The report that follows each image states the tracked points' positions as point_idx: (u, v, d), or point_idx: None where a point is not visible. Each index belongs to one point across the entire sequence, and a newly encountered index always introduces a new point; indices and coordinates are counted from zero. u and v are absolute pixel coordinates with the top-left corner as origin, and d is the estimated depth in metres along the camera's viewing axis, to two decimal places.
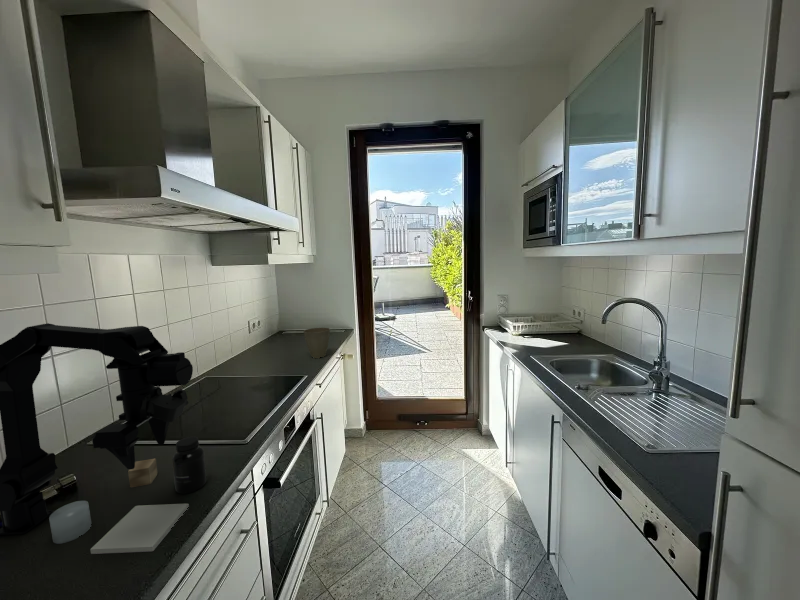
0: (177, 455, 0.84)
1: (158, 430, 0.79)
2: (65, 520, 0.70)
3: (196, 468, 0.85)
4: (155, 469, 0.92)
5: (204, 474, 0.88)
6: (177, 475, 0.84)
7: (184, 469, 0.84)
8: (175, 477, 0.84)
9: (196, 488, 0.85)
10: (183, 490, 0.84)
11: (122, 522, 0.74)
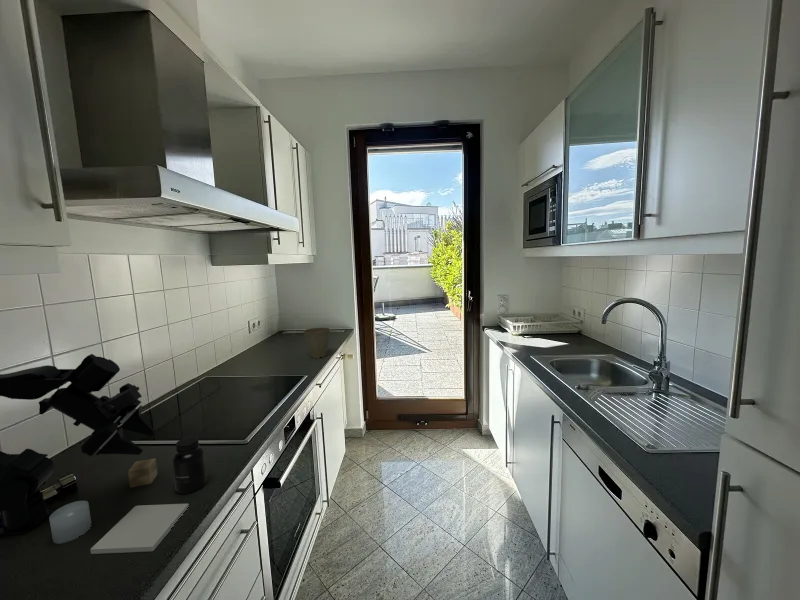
0: (177, 455, 0.84)
1: (140, 427, 0.86)
2: (65, 520, 0.70)
3: (196, 468, 0.85)
4: (155, 469, 0.92)
5: (204, 474, 0.88)
6: (177, 475, 0.84)
7: (184, 469, 0.84)
8: (175, 477, 0.84)
9: (196, 488, 0.85)
10: (183, 490, 0.84)
11: (122, 522, 0.74)
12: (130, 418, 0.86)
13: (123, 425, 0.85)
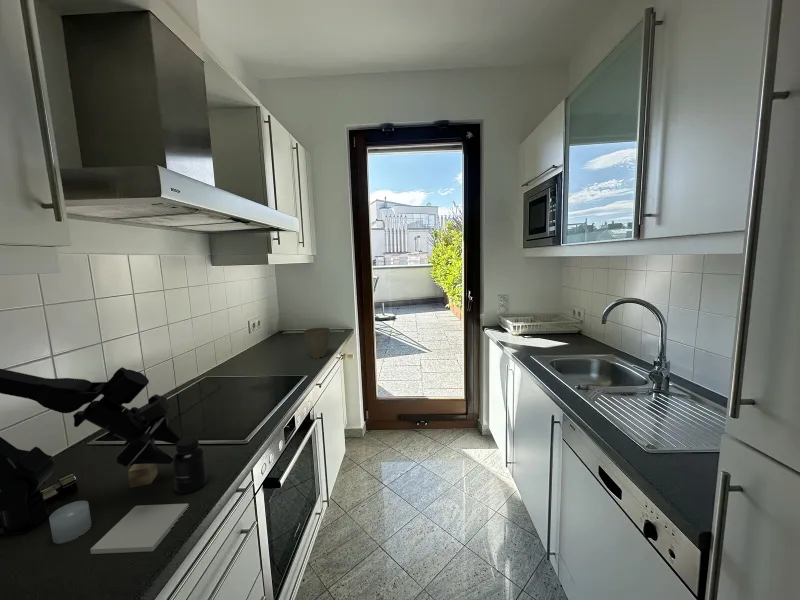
0: (177, 455, 0.84)
1: (168, 436, 0.89)
2: (65, 520, 0.70)
3: (196, 468, 0.85)
4: (155, 469, 0.92)
5: (204, 474, 0.88)
6: (177, 475, 0.84)
7: (184, 469, 0.84)
8: (175, 477, 0.84)
9: (196, 488, 0.85)
10: (183, 490, 0.84)
11: (122, 522, 0.74)
12: (158, 428, 0.88)
13: (152, 435, 0.88)
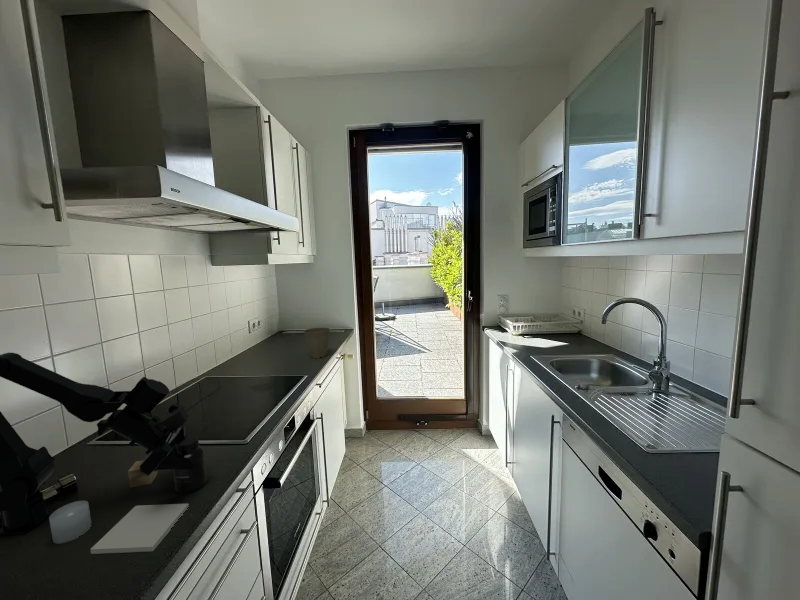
0: None
1: None
2: (65, 520, 0.70)
3: (196, 468, 0.85)
4: None
5: (204, 474, 0.88)
6: (177, 475, 0.84)
7: None
8: (175, 477, 0.84)
9: (196, 488, 0.85)
10: (183, 490, 0.84)
11: (122, 522, 0.74)
12: (176, 438, 0.89)
13: (169, 445, 0.89)
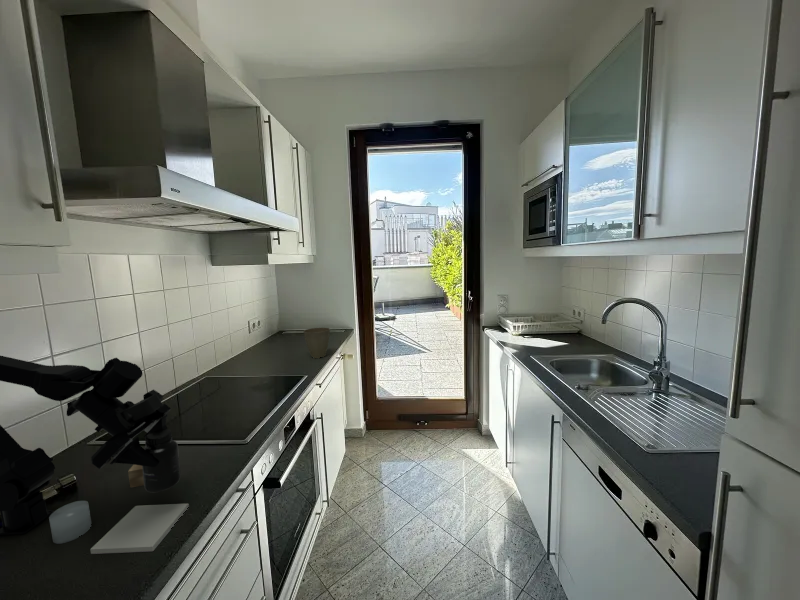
0: (146, 449, 0.76)
1: None
2: (65, 520, 0.70)
3: (163, 467, 0.75)
4: None
5: (175, 474, 0.78)
6: (144, 471, 0.75)
7: None
8: None
9: (163, 488, 0.76)
10: (149, 488, 0.75)
11: (122, 522, 0.74)
12: (153, 428, 0.81)
13: None
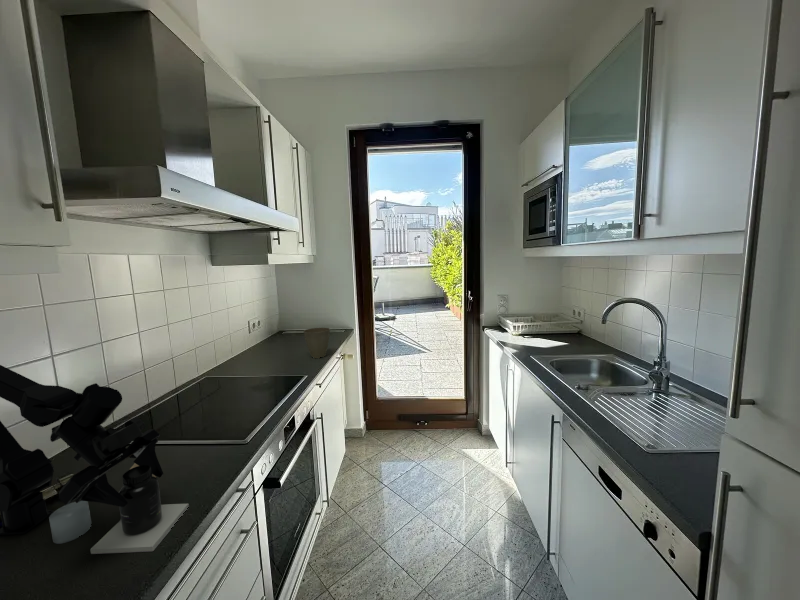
0: (123, 487, 0.71)
1: None
2: (65, 520, 0.70)
3: (138, 509, 0.70)
4: None
5: (153, 516, 0.72)
6: (120, 511, 0.71)
7: None
8: None
9: (138, 532, 0.71)
10: (124, 530, 0.71)
11: None
12: (142, 453, 0.77)
13: (136, 460, 0.78)
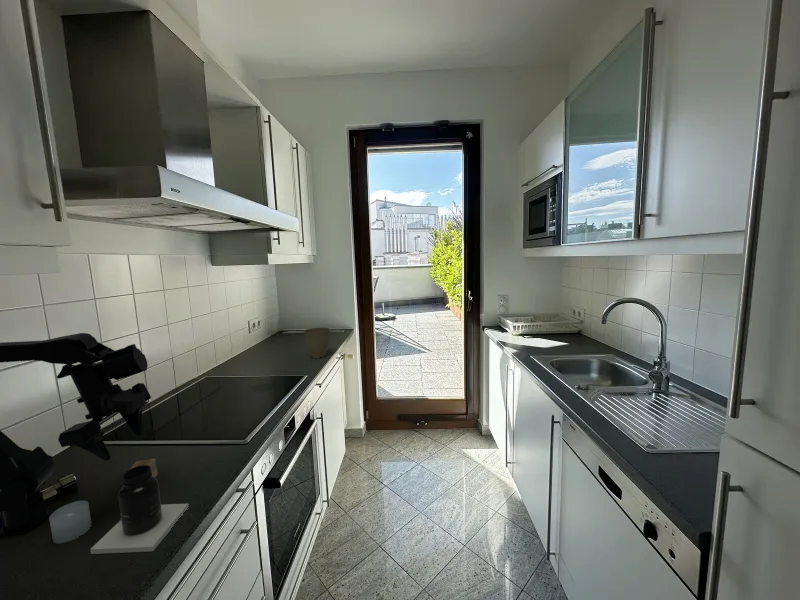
0: (123, 487, 0.71)
1: (133, 423, 0.85)
2: (65, 520, 0.70)
3: (138, 509, 0.70)
4: (155, 469, 0.92)
5: (153, 516, 0.72)
6: (120, 511, 0.71)
7: (124, 506, 0.70)
8: None
9: (138, 532, 0.71)
10: (124, 530, 0.71)
11: None
12: None
13: None
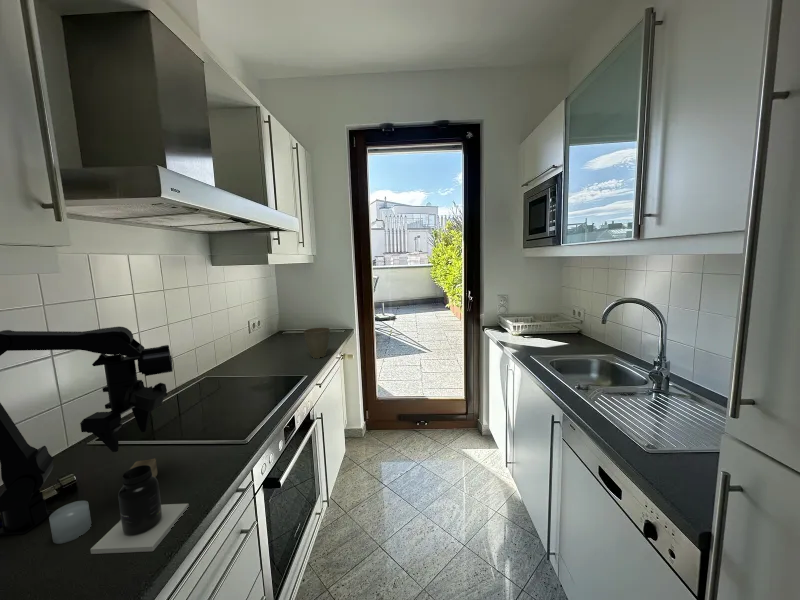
0: (123, 487, 0.71)
1: (141, 419, 0.89)
2: (65, 520, 0.70)
3: (138, 509, 0.70)
4: (155, 469, 0.92)
5: (153, 516, 0.72)
6: (120, 511, 0.71)
7: (124, 506, 0.70)
8: None
9: (138, 532, 0.71)
10: (124, 530, 0.71)
11: None
12: None
13: (134, 406, 0.89)
